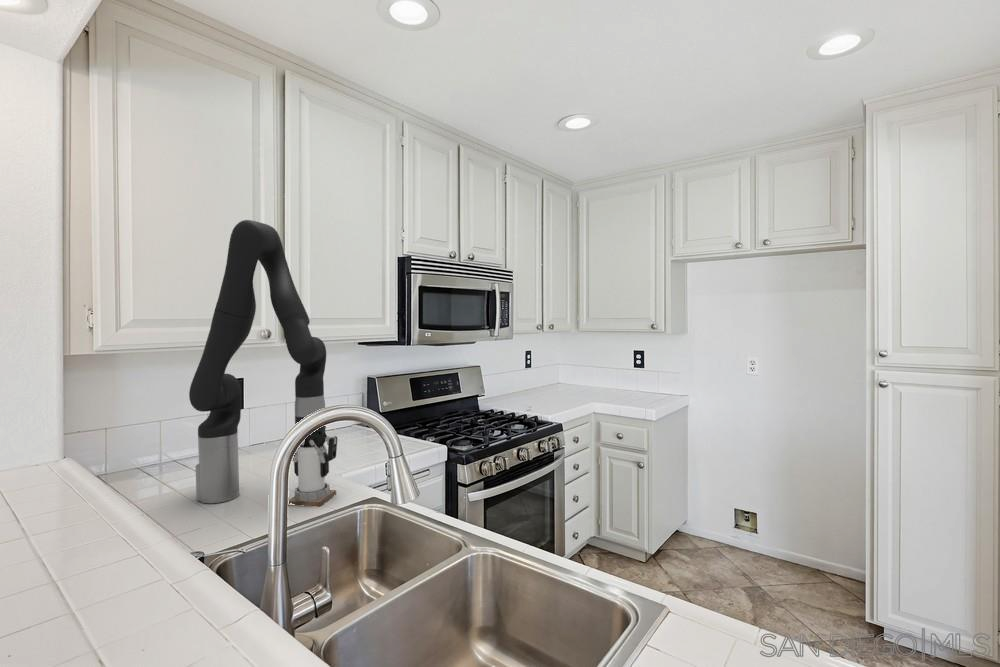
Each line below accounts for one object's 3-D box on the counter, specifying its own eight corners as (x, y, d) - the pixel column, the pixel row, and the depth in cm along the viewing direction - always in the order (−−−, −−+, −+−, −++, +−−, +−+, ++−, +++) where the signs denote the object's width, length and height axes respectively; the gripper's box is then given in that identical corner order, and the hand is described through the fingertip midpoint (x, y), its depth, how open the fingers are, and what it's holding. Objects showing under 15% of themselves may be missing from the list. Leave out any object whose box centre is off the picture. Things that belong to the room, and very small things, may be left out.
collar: (288, 500, 125) (288, 493, 125) (305, 489, 134) (305, 481, 134) (319, 501, 124) (319, 494, 124) (335, 490, 133) (335, 482, 132)
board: (287, 505, 125) (287, 500, 125) (305, 493, 134) (305, 488, 134) (319, 506, 124) (319, 502, 124) (336, 494, 133) (335, 489, 133)
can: (315, 494, 125) (314, 448, 125) (293, 493, 126) (292, 447, 126) (329, 486, 131) (328, 441, 131) (308, 484, 133) (307, 441, 132)
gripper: (276, 415, 125) (278, 479, 126) (329, 416, 123) (330, 481, 124) (292, 409, 133) (294, 470, 133) (342, 410, 131) (344, 472, 131)
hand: (311, 475), depth 129 cm, fingers closed on can, 6 cm apart
